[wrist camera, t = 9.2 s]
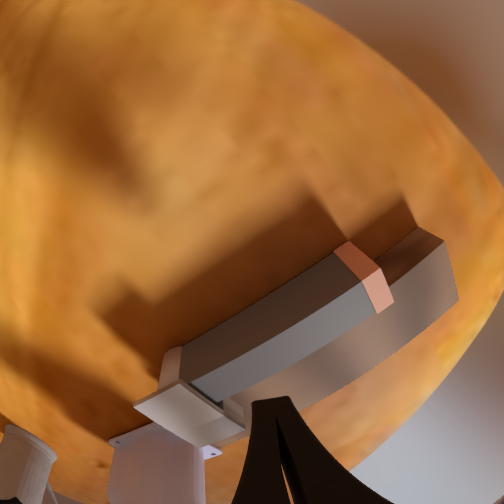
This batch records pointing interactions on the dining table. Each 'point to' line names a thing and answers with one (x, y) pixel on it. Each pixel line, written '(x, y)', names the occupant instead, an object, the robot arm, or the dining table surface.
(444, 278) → the rail
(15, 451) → the glass holder
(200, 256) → the dining table surface
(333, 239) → the dining table surface
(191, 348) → the stool leg
